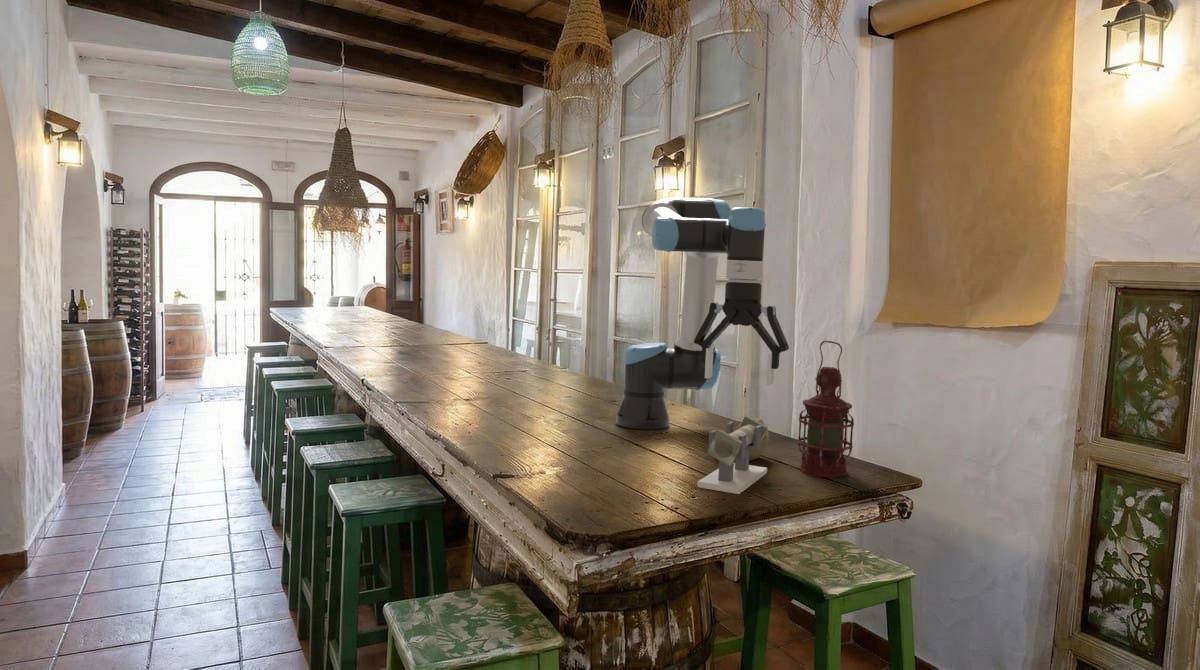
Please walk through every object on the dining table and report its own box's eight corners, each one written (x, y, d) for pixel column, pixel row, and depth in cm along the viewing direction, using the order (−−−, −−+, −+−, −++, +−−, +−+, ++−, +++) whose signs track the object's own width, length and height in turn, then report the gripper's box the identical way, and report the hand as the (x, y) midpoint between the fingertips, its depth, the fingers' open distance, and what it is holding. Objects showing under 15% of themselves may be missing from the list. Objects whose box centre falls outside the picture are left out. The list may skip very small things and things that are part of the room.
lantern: (785, 466, 186) (792, 338, 183) (827, 463, 191) (835, 338, 188) (817, 480, 175) (826, 344, 172) (862, 476, 179) (871, 343, 177)
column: (737, 436, 182) (746, 415, 181) (758, 447, 180) (768, 426, 179) (706, 453, 164) (717, 430, 163) (729, 466, 162) (740, 443, 161)
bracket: (728, 466, 184) (731, 419, 183) (766, 473, 180) (769, 423, 179) (697, 487, 166) (700, 434, 165) (739, 494, 162) (742, 439, 161)
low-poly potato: (770, 455, 198) (732, 428, 203) (786, 423, 192) (747, 396, 197) (738, 482, 188) (700, 453, 193) (754, 449, 182) (714, 420, 187)
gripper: (682, 279, 171) (677, 376, 173) (798, 284, 160) (792, 389, 162) (694, 278, 178) (690, 373, 180) (807, 283, 167) (801, 384, 169)
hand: (738, 380), depth 171 cm, fingers open, 13 cm apart
